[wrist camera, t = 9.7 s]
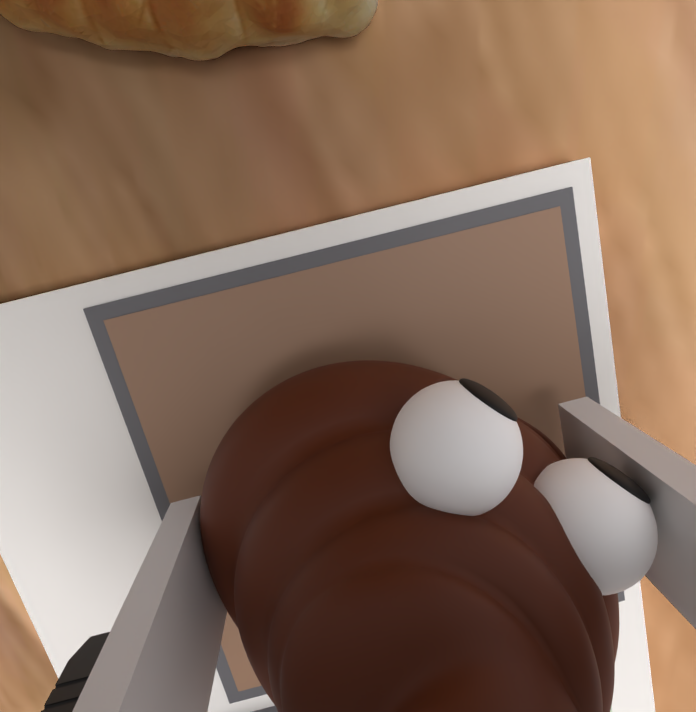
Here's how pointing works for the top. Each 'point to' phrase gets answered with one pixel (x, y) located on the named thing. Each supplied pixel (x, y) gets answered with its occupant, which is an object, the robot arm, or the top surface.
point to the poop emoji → (418, 548)
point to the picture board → (283, 378)
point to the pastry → (191, 22)
